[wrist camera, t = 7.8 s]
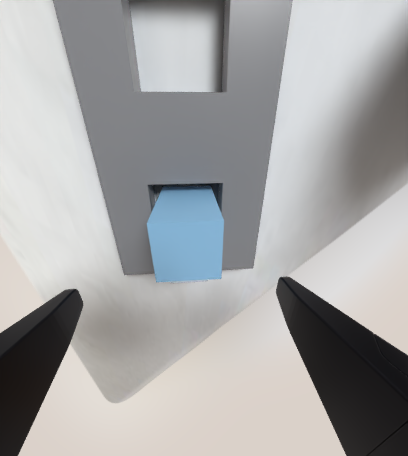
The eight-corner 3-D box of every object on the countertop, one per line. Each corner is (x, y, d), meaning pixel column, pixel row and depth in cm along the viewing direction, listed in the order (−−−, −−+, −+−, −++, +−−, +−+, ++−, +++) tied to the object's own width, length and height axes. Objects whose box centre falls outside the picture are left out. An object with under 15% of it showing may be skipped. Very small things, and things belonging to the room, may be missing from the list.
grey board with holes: (291, -100, 10) (314, -151, 8) (247, 255, 20) (253, 268, 18) (43, -117, 9) (6, -178, 7) (130, 261, 19) (124, 274, 17)
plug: (210, 185, 16) (224, 220, 10) (209, 232, 18) (220, 286, 12) (162, 186, 16) (146, 223, 10) (168, 234, 18) (157, 289, 12)
